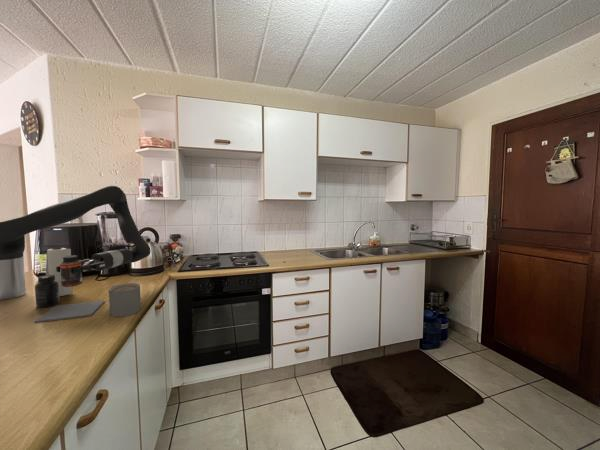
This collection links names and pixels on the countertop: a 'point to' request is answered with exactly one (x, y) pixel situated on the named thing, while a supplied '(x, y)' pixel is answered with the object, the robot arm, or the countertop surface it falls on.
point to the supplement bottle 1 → (47, 291)
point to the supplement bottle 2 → (66, 276)
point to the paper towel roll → (55, 260)
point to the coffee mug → (124, 299)
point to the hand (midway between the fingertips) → (63, 270)
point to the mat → (70, 311)
